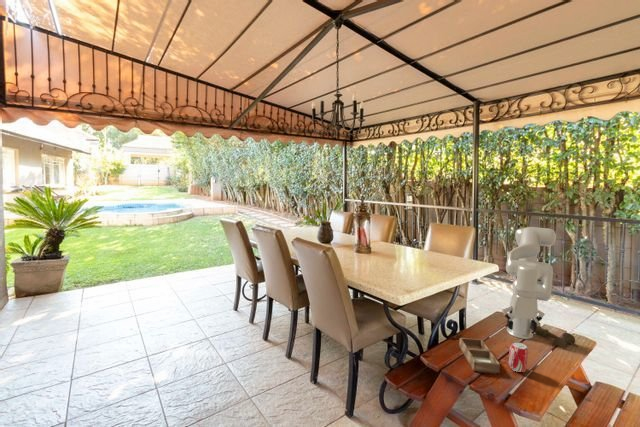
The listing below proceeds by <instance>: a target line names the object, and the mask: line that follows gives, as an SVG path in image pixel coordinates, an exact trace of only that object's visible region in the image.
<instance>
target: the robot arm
mask: <svg viewBox="0 0 640 427" xmlns="http://www.w3.org/2000/svg"><path fill="white" fill-rule="evenodd" d="M556 239H557V235H556V232H555V230H554V229H552V228H546V227H537V226H535V227H534V226H527V227H523V228H518V229H516V230H515V241H516V245H517V246H516V247H514V248H513V249H511V250H510V252H509V253H508V255H507V258H506V263H505V271H506V273H507V274H508V275H510V276H514V277H516V279H515V280H513V282H512V295H511V298H510V301H509V302H510V303H509V306H508V307H506V308H504V309H502V310H501V311H502V313H503V315H504V316H505V318H506V319H507V321H506V322H507V323H506V326H507V327H506V332H507V333H508V334H509V335H511V336H513V337H515V338H517V339H522V340H531V339H533V338H534V334H533V333H532V331H533V332H534V333H535V332H536V329H537V326H538V324H539V322H540V321H542V319H543V318H544V316H545V314H546V313H544V312H543V311H541V310H539V309H538V301H542V302H543V301H544V302H549V300H551V296H552V287H553V279H554V278H553V277H554V269H553V266H552V265H551V264H550V263H547V262H543V261H538V255H539V254H540V252H541V247H548V248H549V247H552V246H554V245H555V244H556ZM538 280H540V281H541V282H540V281H538Z"/></svg>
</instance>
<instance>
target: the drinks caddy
mask: <svg viewBox="0 0 640 427" xmlns="http://www.w3.org/2000/svg"><path fill="white" fill-rule="evenodd" d="M458 341H459V342H458V346H459V348H460V350H461V352H462V354H463V355H464V357H465V359H466V361H467V362H468V364H469V366H470V367H471V369H472V371H473V372H474V371H478V372H477V373H487V374H496V373H499V374H500V373H501V364H500V362H499V360H497V358H496V356H495V355H494V354H493V353H492V352H491V350H490V349H489V348H488V346H487V344H486V343H485V342H484V340H483V339H481V338H467V337H459V338H458Z"/></svg>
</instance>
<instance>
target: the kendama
mask: <svg viewBox="0 0 640 427" xmlns="http://www.w3.org/2000/svg"><path fill="white" fill-rule="evenodd" d="M534 333H535V335H541V336H543V337H544V338H552V339H554V340H553V341H554V344H555V346H556V347H557V348H560V349H565V348H566V347H567V344H568V345H570V346H574V347H577V348H578V347H580V346H579V344H576V337H575V336H574V335H573V334H571V333H570V332H563V333H562V337H560V336H558V335H556V334H554V333H552V332H551V331H549V330H548V329H547V328H544V327H542V326H541V325H537V329H536V332H534Z"/></svg>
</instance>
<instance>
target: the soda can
mask: <svg viewBox="0 0 640 427" xmlns="http://www.w3.org/2000/svg"><path fill="white" fill-rule="evenodd" d="M508 352H509V353H508V364H507V365H508V368H509V369H510V370H511V371H513V372H515V371H516V372H515V373H517V372H523V373H525V372H526V371H527V368H528V367H527V365H528V358H529V349H528V346H527V345H526V344H525V343H522V342H519V341H512V343H511V345H510V346H509V351H508ZM524 371H525V372H524Z"/></svg>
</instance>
